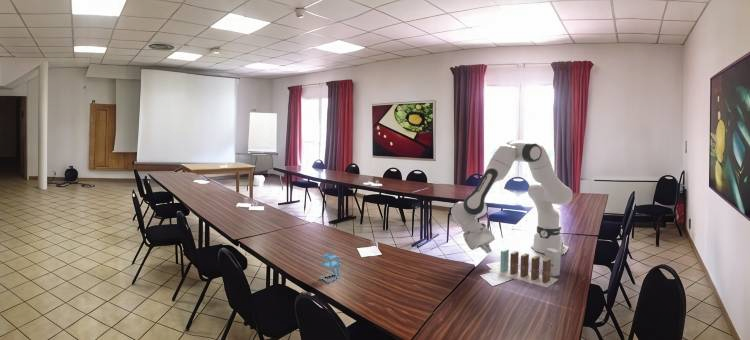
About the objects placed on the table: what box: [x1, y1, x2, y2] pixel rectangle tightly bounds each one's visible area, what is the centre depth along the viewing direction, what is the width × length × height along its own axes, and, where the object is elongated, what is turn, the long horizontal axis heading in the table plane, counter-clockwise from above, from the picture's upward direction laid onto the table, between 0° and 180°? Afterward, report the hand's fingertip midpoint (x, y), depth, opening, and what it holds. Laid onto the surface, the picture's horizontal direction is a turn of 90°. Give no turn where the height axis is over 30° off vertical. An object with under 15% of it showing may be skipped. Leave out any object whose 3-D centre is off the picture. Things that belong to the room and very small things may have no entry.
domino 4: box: [530, 255, 541, 280], centre depth 170 cm, size 2×5×10 cm, turn 134°
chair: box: [319, 252, 342, 283], centre depth 173 cm, size 8×8×12 cm
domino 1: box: [499, 248, 510, 272], centre depth 180 cm, size 2×5×10 cm, turn 134°
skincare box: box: [544, 248, 562, 277], centre depth 176 cm, size 6×4×12 cm
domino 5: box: [541, 258, 551, 283], centre depth 166 cm, size 2×5×10 cm, turn 134°
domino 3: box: [520, 253, 530, 277], centre depth 173 cm, size 2×5×10 cm, turn 134°
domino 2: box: [509, 250, 520, 275], centre depth 177 cm, size 2×5×10 cm, turn 134°
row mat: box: [488, 264, 559, 288], centre depth 174 cm, size 13×28×1 cm, turn 44°
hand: (489, 252), depth 186 cm, fingers closed
